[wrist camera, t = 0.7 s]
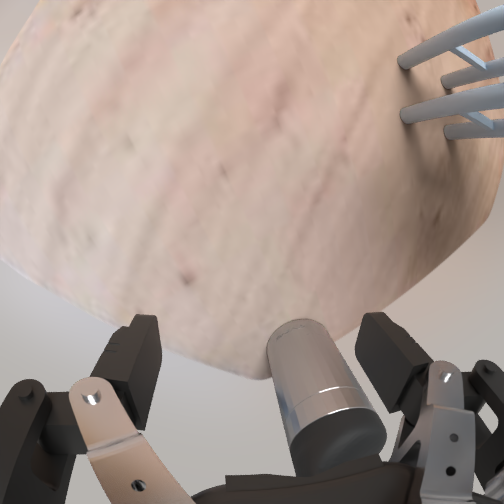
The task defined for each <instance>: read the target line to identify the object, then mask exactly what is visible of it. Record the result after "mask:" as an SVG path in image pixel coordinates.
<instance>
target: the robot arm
mask: <svg viewBox="0 0 504 504" xmlns="http://www.w3.org/2000/svg"><path fill="white" fill-rule="evenodd" d="M267 355H268V359H269V364H270V368H271V373H272V378H273V382H274V386H275V390H276V395H277V399H278V403H279V408H280V412H281V416H282V421H283V425H284V429H285V433H286V437H287V441H288V445H289V449H290V453H291V458H292V461H293V465H294V469H295V473H296V477H293V476H281V475H272V474H258V475H226V476H225V478H226V484H225V485H220V486H216V487H212V488H209V489H206V490H204V491H201V492H199V493H197V494H195V495H193V496H191V497H190V496H189V495H188V494H187V493H186V492H185V491H184V489H183V488H182V487H181V486H180V485H179V483H178V482H177V481H176V480H175V479H174V477H173V476H172V475H171V474H170V472H169V471H168V470H167V468H166V467H165V466H164V464H163V463H162V462H161V460H160V459H159V458H158V456H157V455H156V453H155V452H154V451H153V449H152V448H151V446H150V445H149V443H148V442H147V440H146V439H145V438H144V436H143V435H142V434H141V433H139V432H138V431H137V430H145V427H146V423H147V418H148V414H149V410H150V406H151V402H152V397H153V393H154V390H155V386H156V382H157V378H158V374H159V371H160V367H161V362H162V348H161V342H160V335H159V328H158V321H157V317H156V316H155V315H140V314H136V315H135V317H134V318H133V320H132V322H131V324H130V326H129V327H125V326H122V327H121V328H120V329H118V330H117V331H116V332H115V333H113V335H112V337H111V338H110V340H109V342H108V344H107V345H106V347H105V349H104V352H103V353H102V354H101V356H100V358H99V360H98V362H97V364H96V366H95V367H94V370H93V371H92V373H91V375H90V377H87V378H83V379H81V380H79V381H77V382H76V383H75V384H74V385H73V386H72V387H71V389H70V391H69V392H46V390H45V388H44V386H43V385H42V384H41V383H40V382H39V381H37V380H33V379H26V380H22V381H20V382H18V383H16V384H15V385H14V386H13V387H12V388H11V390H10V391H9V393H8V395H7V396H6V398H5V400H4V402H3V403H2V405H1V407H0V504H65V500H66V495H67V491H68V486H69V482H70V478H71V474H72V470H73V466H74V462H75V459H76V455H77V454H87V456H88V459H89V461H90V464H91V466H92V468H93V470H94V472H95V474H96V476H97V478H98V480H99V482H100V484H101V486H102V488H103V490H104V491H105V493H106V495H107V497H108V498H109V500H110V502H111V504H504V372H503V371H502V370H501V369H500V368H499V367H498V366H497V365H496V364H495V363H493V362H491V361H488V360H479V361H477V363H476V364H475V366H474V368H473V370H472V372H460V370H459V369H458V368H457V367H456V366H455V365H454V364H452V363H450V362H447V361H435V362H434V361H433V360H432V359H431V358H430V357H429V356H428V354H427V353H426V352H425V351H424V350H423V349H422V348H421V347H420V346H419V344H418V343H415V340H414V339H413V338H412V337H410V335H409V334H408V333H407V332H406V330H405V329H404V328H402V327H400V326H399V325H397V324H395V323H394V322H393V321H392V320H391V319H390V318H389V317H388V316H387V315H386V314H385V313H384V312H374V313H366V314H365V315H364V316H363V319H362V322H361V326H360V330H359V333H358V337H357V341H356V344H355V355H356V358H357V360H358V362H359V363H360V365H361V367H362V368H363V370H364V372H365V373H366V375H367V376H368V378H369V380H370V381H371V383H372V385H373V386H374V388H375V390H376V391H377V393H378V395H379V397H380V398H381V400H382V402H383V403H384V405H385V407H386V408H387V410H388V412H389V413H394V412H397V411H400V410H401V411H402V412H403V414H404V415H403V417H402V418H401V422H400V427H399V430H398V434H397V438H396V442H395V446H394V449H393V453H392V456H391V458H390V460H389V462H385V461H384V462H382V461H381V458H380V456H379V453H380V452H381V450H382V449H383V447H384V445H385V442H386V439H387V433H386V429H385V427H384V425H383V423H382V421H381V419H380V418H379V416H378V414H377V413H376V411H375V410H374V408H373V406H372V404H371V403H370V401H369V400H368V398H367V396H366V394H365V393H364V391H363V390H362V388H361V386H360V385H359V383H358V381H357V380H356V378H355V376H354V375H353V373H352V371H351V370H350V368H349V366H348V365H347V363H346V361H345V360H344V359H343V357H342V355H341V353H340V352H339V350H338V348H337V347H336V345H335V343H334V342H333V340H332V338H331V337H330V335H329V333H328V332H327V330H326V329H325V328H324V326H322V325H321V324H320V323H318V322H316V321H314V320H309V319H299V320H294V321H291V322H288V323H286V324H284V325H283V326H281V327H280V328H278V329H277V330H276V331H275V332H274V333H273V335H272V336H271V338H270V340H269V342H268V345H267ZM485 403H487V404H488V405H489V406H490V408H491V409H492V410H493V412H494V413H495V414H496V416H497V417H498V427H497V429H496V430H495V431H494V433H493V434H491V432H490V431H489V429H488V428H487V426H486V425H485V423H484V422H483V420H482V419H481V418H480V416H479V415H478V413H479V411H480V410H481V409H482V407H483V406H484V404H485ZM136 429H137V430H136ZM474 472H475V474H476V476H477V478H478V480H479V482H480V483H481V486H482V487H483V490H484V491H485V494H484V495H481V494H478V493H475V492H472V490H473V481H474Z"/></svg>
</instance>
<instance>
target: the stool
mask: <svg viewBox="0 0 504 504" xmlns="http://www.w3.org/2000/svg"><path fill="white" fill-rule="evenodd" d="M502 30H504V4H503V5H501V6H498V7H496V8H493V9H491V10H488V11H486V12H484V13H481V14H479V15H477V16H475V17H472V18H470V19H468V20H466V21H464V22H462V23H459V24H457V25H455V26H453V27H451V28H449V29H447V30H445V31H443V32H441V33H439V34H438V35H436V36H434V37H432V38H430V39H428V40H426V41H424V42H423V43H421V44H419V45H417V46H415V47H414V48H412V49H410V50H408V51H407V52H405V53H403V54H402V55H400V56H398V58H397V61H398V64H399V65H400V66H401V67H402V68H403V69H406V70H408V69H410V68H412V67H414V66H416V65H418V64H420V63H422V62H424V61H427V60H429V59H431V58H433V57H435V56H438V55H440V54H442V53H444V52H447V51H451V52H452V53H454V54H456V55H457V56H459V57H460V58H462V59H463V60H465V61H466V62H468V63H469V64H471V65H472V66H471V67H468V68H465V69H461V70H458V71H455V72H452V73H449V74H447V75H444V76H442V77H441V83H442V85H443V86H444V87H445V88H446V89H451V88H455V87H458V86H462V85H466V84H470V83H474V82H478V81H482V80H486V79H491V78H495V77H500V76H504V57H503V58H499V59H495V60H491V61H488V62H483V61H482V60H481V59H479V58H478V57H477V56H475V55H474V54H472V53H471V52H470V51H468V50H467V49H465V48H464V47H462V46H461V45H464V44H466V43H469V42H471V41H474V40H476V39H479V38H482V37H485V36H487V35H490V34H493V33H496V32H499V31H502ZM500 108H504V83H499V84H494V85H489V86H484V87H479V88H475V89H471V90H466V91H462V92H458V93H454V94H450V95H446V96H443V97H439V98H435V99H432V100H428V101H425V102H421V103H418V104H415V105H411V106H408V107H405V108H402V109H401V111H400V117H401V119H402V121H403V122H404V123H406V124H411V123H416V122H420V121H425V120H430V119H435V118H441V117H446V116H452V115H457V114H459V115H461V116H463V117H465V118H467V119H469V120H470V121H472V122H466V123H458V124H451V125H446V126H445V127H444V134H445V136H446V138H447V139H449V140H455V139H471V138H499V137H504V119H495V120H490V119H489V118H487V117H486V116H484V115H482V114H481V113H479V112H478V111H484V110H492V109H500Z"/></svg>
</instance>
